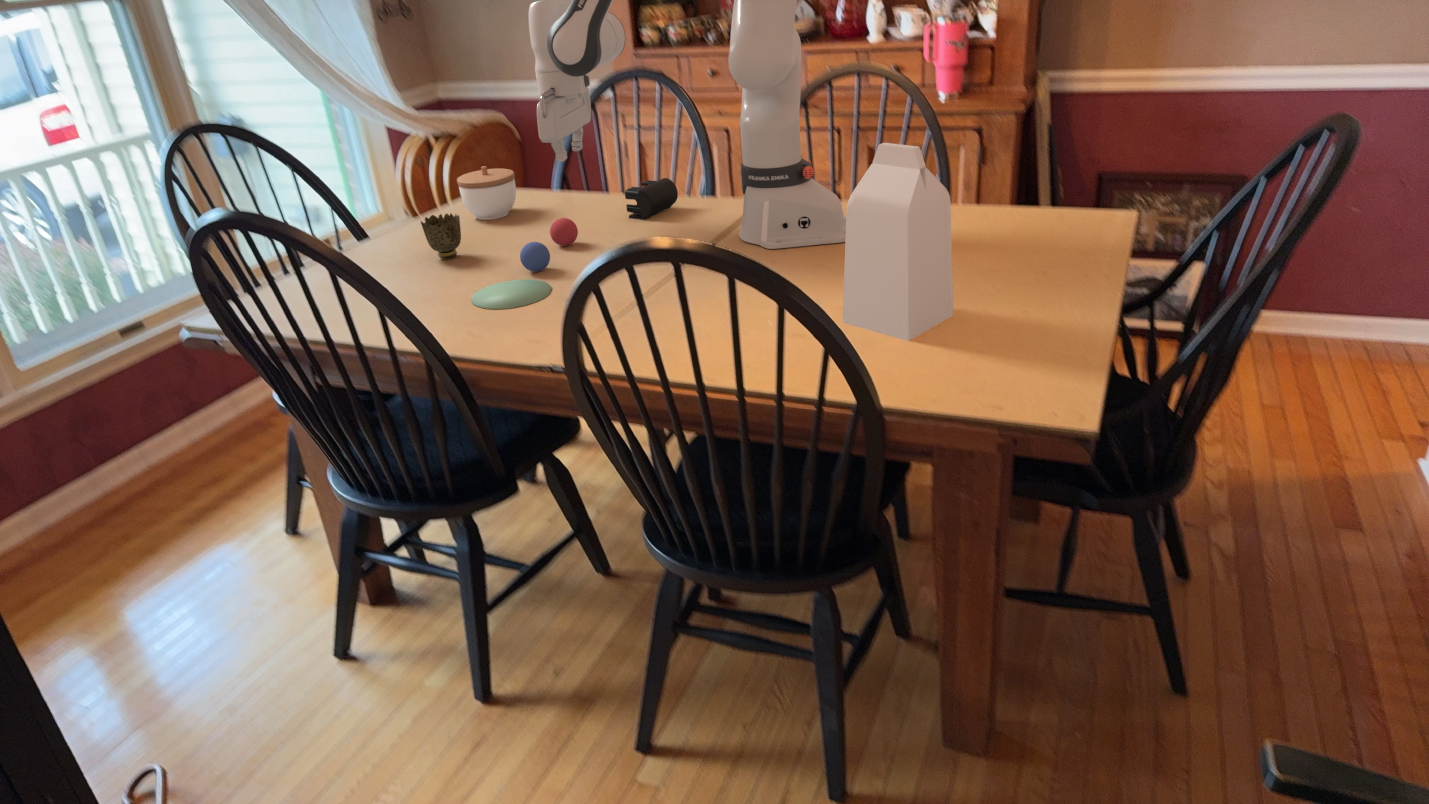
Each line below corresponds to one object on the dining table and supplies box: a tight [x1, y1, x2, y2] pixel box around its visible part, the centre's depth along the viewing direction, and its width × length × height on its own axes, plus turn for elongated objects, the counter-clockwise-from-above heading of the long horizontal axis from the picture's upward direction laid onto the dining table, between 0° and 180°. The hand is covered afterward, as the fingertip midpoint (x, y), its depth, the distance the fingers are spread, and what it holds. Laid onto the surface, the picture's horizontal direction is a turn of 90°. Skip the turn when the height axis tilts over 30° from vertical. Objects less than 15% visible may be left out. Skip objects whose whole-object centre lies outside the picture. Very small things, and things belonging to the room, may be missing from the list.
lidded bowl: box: [456, 165, 517, 221], centre depth 213 cm, size 13×13×11 cm
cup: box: [420, 213, 462, 260], centre depth 188 cm, size 8×7×8 cm
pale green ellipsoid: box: [470, 278, 552, 310], centre depth 168 cm, size 14×14×1 cm
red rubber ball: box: [549, 217, 579, 247], centre depth 190 cm, size 6×6×6 cm
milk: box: [842, 142, 954, 342], centre depth 138 cm, size 12×12×26 cm
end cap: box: [624, 177, 679, 221], centre depth 205 cm, size 10×7×7 cm
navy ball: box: [519, 241, 551, 273], centre depth 177 cm, size 6×6×6 cm
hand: (570, 155), depth 192 cm, fingers open, 7 cm apart
